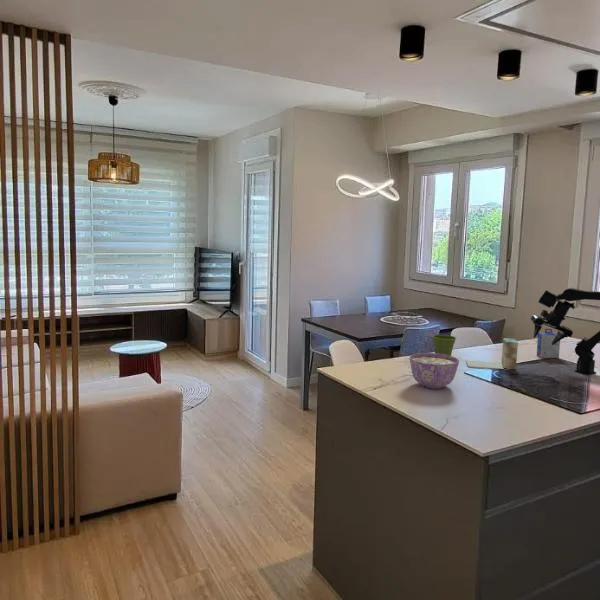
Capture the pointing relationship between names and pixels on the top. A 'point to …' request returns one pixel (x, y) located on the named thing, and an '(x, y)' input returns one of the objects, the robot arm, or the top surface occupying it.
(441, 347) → the plant pot
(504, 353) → the oak block
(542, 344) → the ink cartridge box
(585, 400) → the top surface
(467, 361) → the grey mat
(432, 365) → the bowl of food
